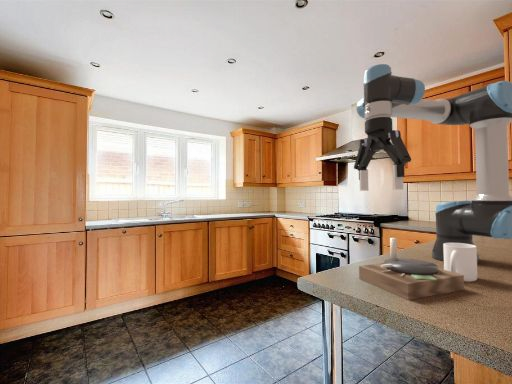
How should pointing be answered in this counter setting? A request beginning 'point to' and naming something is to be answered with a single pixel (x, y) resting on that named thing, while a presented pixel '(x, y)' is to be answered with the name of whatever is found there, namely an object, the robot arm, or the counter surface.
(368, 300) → the counter surface
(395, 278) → the board
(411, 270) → the gray pegged oval disc
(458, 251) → the mug
